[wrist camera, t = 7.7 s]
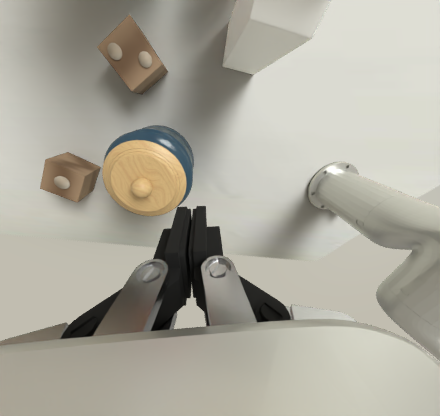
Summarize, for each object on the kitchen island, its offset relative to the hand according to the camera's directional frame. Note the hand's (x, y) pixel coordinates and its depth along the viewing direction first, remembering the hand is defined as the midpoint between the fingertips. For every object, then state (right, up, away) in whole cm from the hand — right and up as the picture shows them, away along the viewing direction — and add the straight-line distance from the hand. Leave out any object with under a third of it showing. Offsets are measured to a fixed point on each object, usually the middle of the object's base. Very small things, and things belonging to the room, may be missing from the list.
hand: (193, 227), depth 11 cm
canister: (-10, +12, +27) cm, 31 cm away
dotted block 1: (-27, +9, +26) cm, 39 cm away
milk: (+5, +28, +20) cm, 35 cm away
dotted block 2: (-12, +25, +19) cm, 34 cm away
